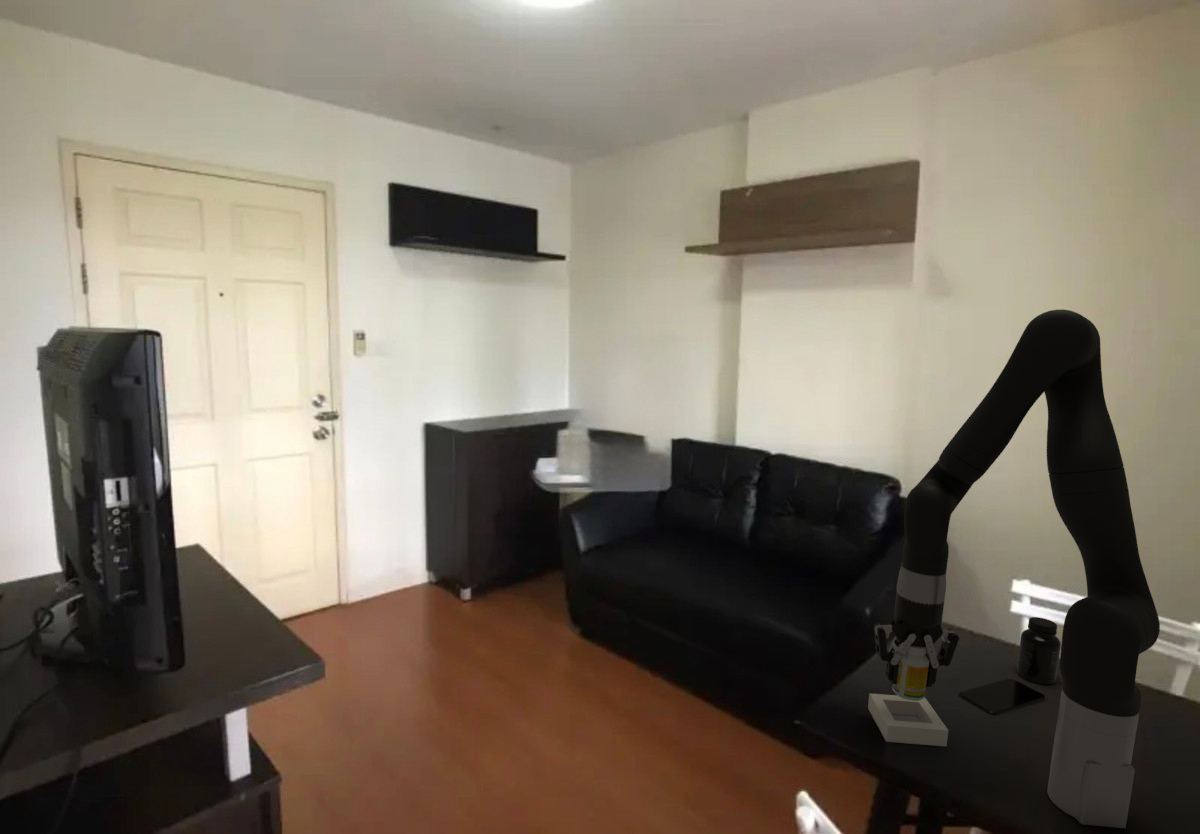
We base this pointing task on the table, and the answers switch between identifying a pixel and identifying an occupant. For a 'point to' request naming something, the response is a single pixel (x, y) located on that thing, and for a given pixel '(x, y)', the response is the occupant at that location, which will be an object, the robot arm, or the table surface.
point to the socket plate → (907, 720)
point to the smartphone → (1002, 696)
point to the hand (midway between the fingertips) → (909, 682)
